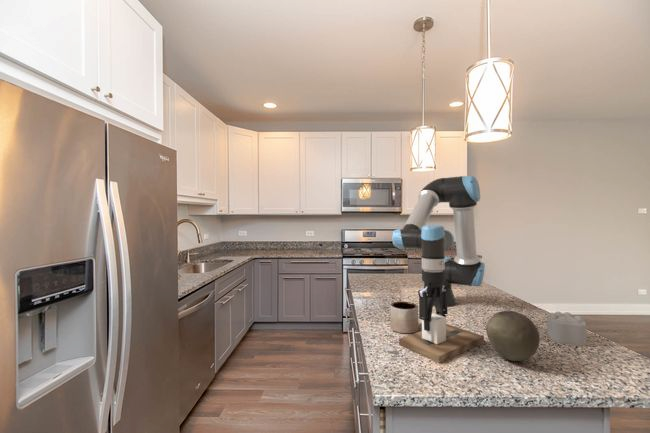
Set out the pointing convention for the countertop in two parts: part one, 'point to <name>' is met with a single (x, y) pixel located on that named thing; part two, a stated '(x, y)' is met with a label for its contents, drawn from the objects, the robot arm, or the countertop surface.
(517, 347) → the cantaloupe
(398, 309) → the planter
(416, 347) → the fader board
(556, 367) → the countertop surface
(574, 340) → the lumpy-topped squat cylinder
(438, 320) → the fader cap
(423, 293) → the robot arm
